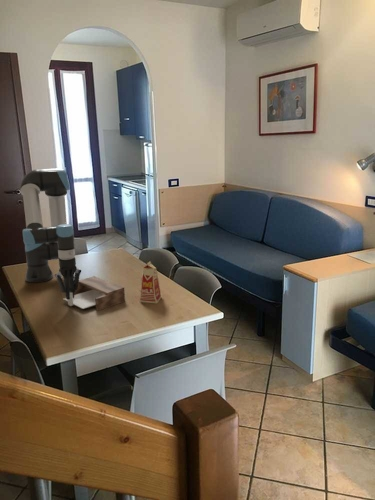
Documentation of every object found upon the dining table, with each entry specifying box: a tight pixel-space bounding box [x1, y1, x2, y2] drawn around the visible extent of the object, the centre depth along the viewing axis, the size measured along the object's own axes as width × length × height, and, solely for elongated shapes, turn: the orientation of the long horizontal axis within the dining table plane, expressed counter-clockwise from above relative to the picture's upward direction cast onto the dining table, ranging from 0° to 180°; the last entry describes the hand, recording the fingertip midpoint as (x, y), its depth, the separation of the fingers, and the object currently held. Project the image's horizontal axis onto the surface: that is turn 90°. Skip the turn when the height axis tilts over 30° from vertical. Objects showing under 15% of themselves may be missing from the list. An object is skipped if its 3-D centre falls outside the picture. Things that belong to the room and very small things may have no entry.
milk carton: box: [138, 261, 162, 304], centre depth 203 cm, size 9×9×20 cm
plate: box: [62, 290, 106, 310], centre depth 204 cm, size 19×19×2 cm
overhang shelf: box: [74, 275, 126, 312], centre depth 207 cm, size 16×26×7 cm, turn 46°
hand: (70, 305), depth 197 cm, fingers closed
